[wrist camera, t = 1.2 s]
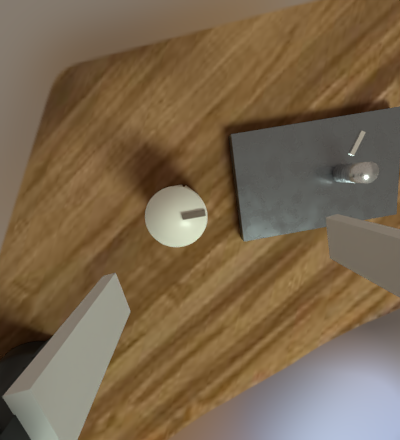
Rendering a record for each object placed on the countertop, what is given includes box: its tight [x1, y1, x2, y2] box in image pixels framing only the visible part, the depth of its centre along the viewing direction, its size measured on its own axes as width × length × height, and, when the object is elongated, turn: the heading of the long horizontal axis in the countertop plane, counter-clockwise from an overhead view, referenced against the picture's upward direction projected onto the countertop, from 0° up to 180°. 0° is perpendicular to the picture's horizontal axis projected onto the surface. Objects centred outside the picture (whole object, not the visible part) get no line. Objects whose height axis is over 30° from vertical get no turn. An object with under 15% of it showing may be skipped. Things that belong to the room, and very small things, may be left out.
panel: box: [229, 107, 400, 241], centre depth 25 cm, size 22×14×6 cm, turn 99°
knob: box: [145, 184, 207, 247], centre depth 24 cm, size 6×6×7 cm
